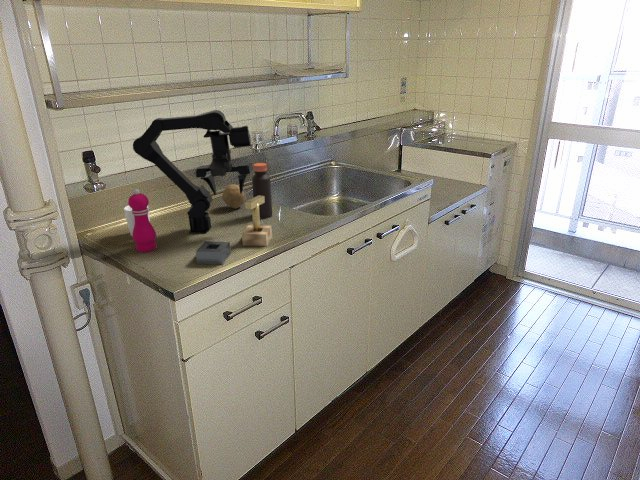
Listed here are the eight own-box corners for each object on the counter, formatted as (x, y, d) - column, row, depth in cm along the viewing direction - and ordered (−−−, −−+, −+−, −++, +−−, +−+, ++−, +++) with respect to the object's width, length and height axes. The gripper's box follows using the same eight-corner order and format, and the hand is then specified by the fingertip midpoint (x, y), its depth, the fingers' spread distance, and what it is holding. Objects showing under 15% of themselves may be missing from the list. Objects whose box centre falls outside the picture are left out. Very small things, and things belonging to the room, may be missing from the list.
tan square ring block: (242, 245, 154) (241, 233, 153) (249, 235, 162) (248, 225, 160) (266, 245, 153) (265, 234, 152) (272, 236, 161) (271, 225, 159)
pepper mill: (144, 254, 149) (134, 193, 141) (130, 249, 153) (118, 190, 145) (162, 246, 155) (153, 187, 147) (148, 242, 158) (138, 184, 151)
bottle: (264, 211, 185) (261, 161, 178) (276, 215, 181) (273, 164, 173) (251, 215, 181) (247, 164, 173) (262, 219, 177) (258, 167, 169)
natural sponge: (218, 210, 188) (215, 185, 185) (232, 203, 196) (229, 180, 192) (236, 213, 184) (234, 188, 181) (250, 206, 192) (248, 182, 188)
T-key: (253, 245, 154) (251, 202, 148) (247, 244, 155) (244, 201, 149) (266, 237, 161) (264, 196, 155) (260, 236, 162) (258, 195, 156)
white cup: (129, 239, 161) (124, 212, 157) (128, 232, 168) (123, 205, 164) (153, 235, 164) (149, 208, 160) (151, 228, 170) (147, 202, 167)
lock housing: (197, 263, 142) (195, 251, 140) (206, 252, 149) (204, 241, 148) (222, 264, 141) (221, 252, 139) (230, 253, 148) (229, 241, 147)
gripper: (185, 156, 151) (194, 202, 157) (242, 152, 149) (249, 199, 155) (197, 149, 161) (205, 193, 167) (250, 145, 159) (256, 189, 165)
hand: (228, 194), depth 163 cm, fingers open, 9 cm apart
